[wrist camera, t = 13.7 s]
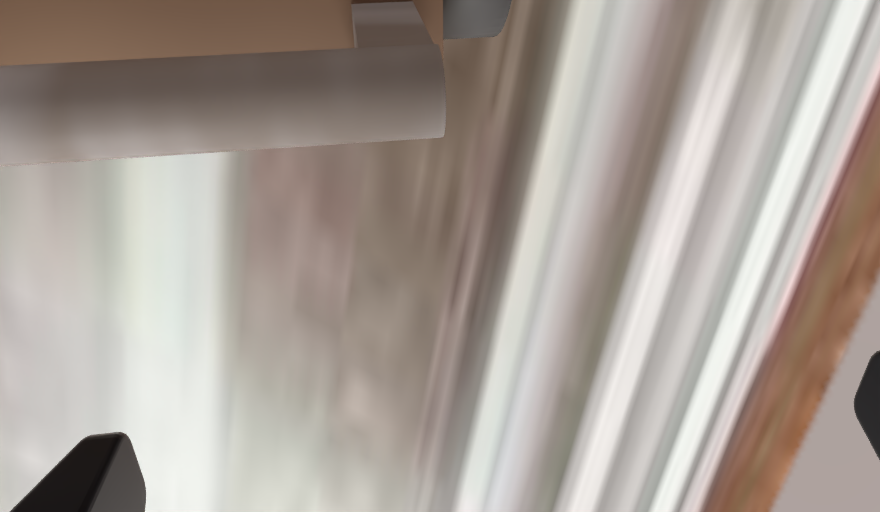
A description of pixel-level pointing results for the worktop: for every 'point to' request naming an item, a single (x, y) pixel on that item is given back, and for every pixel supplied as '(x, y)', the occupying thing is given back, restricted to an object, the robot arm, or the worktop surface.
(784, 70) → the worktop surface
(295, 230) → the worktop surface
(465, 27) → the trolley
